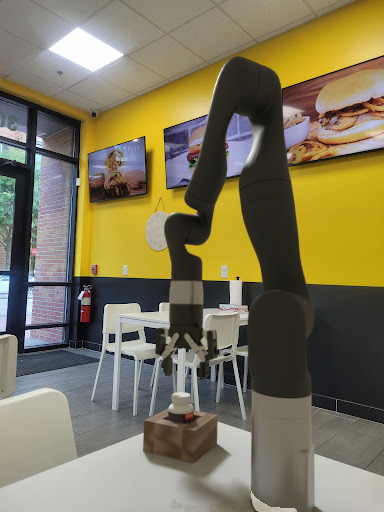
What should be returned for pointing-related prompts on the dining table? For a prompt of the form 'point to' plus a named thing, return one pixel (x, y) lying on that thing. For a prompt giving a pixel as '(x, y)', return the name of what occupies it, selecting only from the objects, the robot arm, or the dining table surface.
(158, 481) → the dining table surface
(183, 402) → the pill bottle
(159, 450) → the socket block
